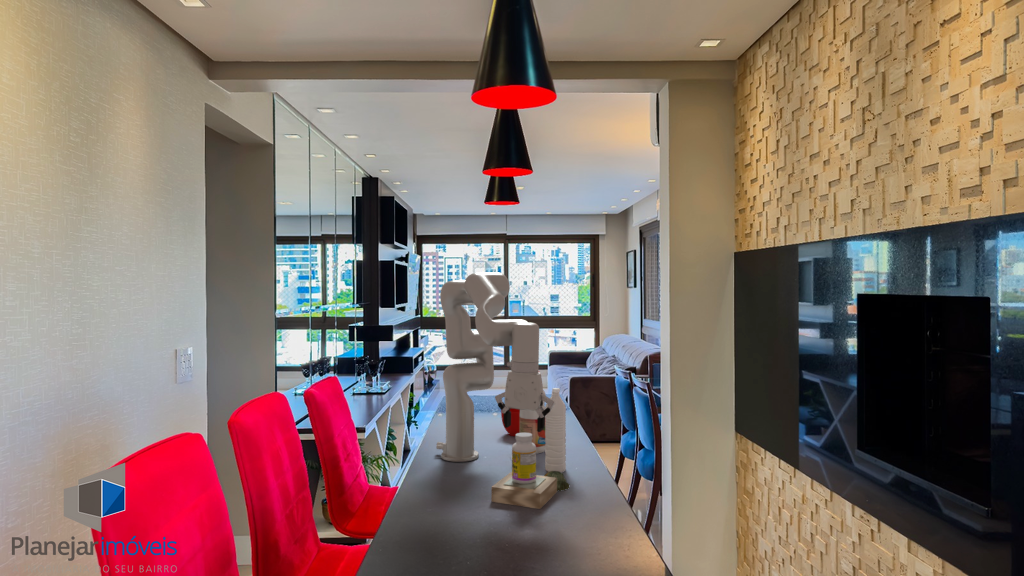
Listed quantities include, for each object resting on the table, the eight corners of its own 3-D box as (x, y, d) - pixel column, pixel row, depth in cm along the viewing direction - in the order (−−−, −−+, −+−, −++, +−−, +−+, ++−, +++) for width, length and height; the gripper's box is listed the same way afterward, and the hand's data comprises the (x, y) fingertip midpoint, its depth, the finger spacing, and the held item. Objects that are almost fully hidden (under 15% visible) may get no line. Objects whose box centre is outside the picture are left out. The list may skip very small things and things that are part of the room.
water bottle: (565, 473, 187) (565, 393, 187) (544, 472, 188) (544, 392, 187) (566, 465, 196) (566, 388, 195) (546, 464, 196) (546, 387, 196)
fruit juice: (520, 446, 218) (520, 369, 217) (546, 447, 217) (546, 369, 217) (518, 454, 208) (518, 373, 208) (546, 454, 208) (546, 373, 207)
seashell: (532, 474, 173) (544, 465, 183) (530, 488, 174) (543, 478, 183) (565, 481, 170) (575, 471, 179) (564, 496, 170) (574, 485, 179)
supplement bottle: (510, 477, 170) (510, 431, 170) (534, 476, 171) (534, 431, 170) (513, 485, 163) (513, 437, 163) (537, 484, 164) (537, 437, 164)
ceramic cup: (545, 431, 241) (545, 406, 241) (523, 440, 226) (523, 413, 226) (517, 427, 248) (517, 402, 248) (494, 435, 233) (494, 409, 233)
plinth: (491, 501, 163) (491, 485, 163) (511, 485, 176) (511, 470, 176) (540, 509, 158) (540, 492, 157) (557, 491, 170) (557, 476, 170)
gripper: (490, 366, 166) (489, 428, 167) (550, 372, 160) (549, 436, 160) (501, 363, 173) (500, 422, 174) (559, 367, 167) (557, 429, 167)
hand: (523, 428), depth 167 cm, fingers open, 9 cm apart
